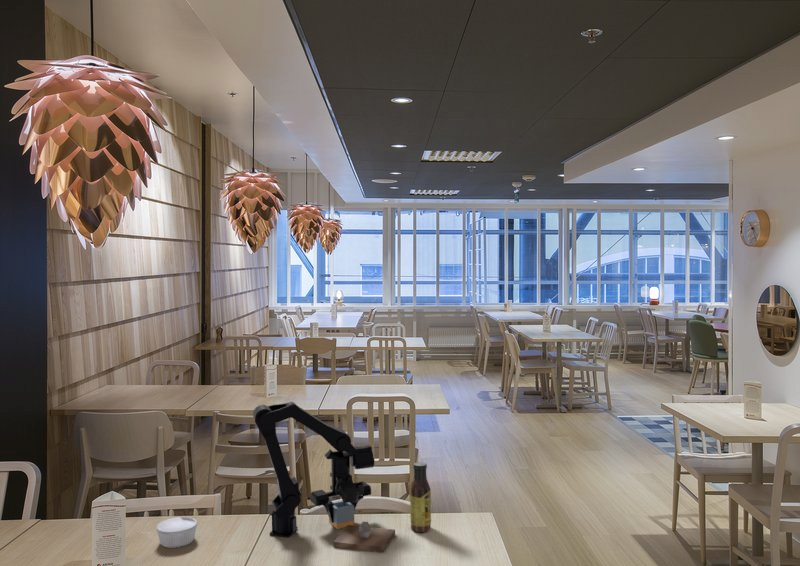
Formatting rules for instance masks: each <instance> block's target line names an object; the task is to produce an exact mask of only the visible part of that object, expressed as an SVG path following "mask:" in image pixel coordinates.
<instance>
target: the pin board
mask: <svg viewBox="0 0 800 566" xmlns="http://www.w3.org/2000/svg"><path fill="white" fill-rule="evenodd" d="M395 536H396V529H392V528H391V529H390V528H381V527H373V526H372V527H371V523H369V522H368V521H362V522H361V523H360V525H347V526H346V527H344V528H343V530H342V531H341V532H340V534H339V535H337V537H336V539H334V541H333V548H339V549H348V550H356V549H357V550H356V551H365V550H367V552H374V551H376V552H378V553H385V552H386V550H387V548H388V547H389V545H390V544H391V543H392V540H393V538H394V537H395Z"/></svg>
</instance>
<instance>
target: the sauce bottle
mask: <svg viewBox="0 0 800 566" xmlns="http://www.w3.org/2000/svg"><path fill="white" fill-rule="evenodd" d="M427 469H428V465H427V463H426V462H424V461H423V462H422V461H420V462H419V461H417V462H415V463H413V480H412V481H411V484H410V494H409V495H410V497H409V499H410V500H409V501H410V502H409V503H410V506H409V507H410V509H409V511H410V529H411V530H412V531H414V532H418V533H423V532H429V530H430V529H431V525H432V508H431V507H432V506H431V505H432V497H431V494H432V493H431V492H432V491H431V487H430V484H429V481H428V478H427V476H428V475H427Z"/></svg>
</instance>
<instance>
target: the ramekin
mask: <svg viewBox="0 0 800 566" xmlns="http://www.w3.org/2000/svg"><path fill="white" fill-rule="evenodd" d="M197 526H198V521H197V519H195V518H193V517H189V516H178V517H177V516H176V517H171V518H168V519H165V520H163V521H161V522H159V523H158V524H157V525H156V532H157V536H158V539H159V544H160V545H161V546H162V547H164V548H168V549H176V547H177V548H181V546H182V547H185V546H188V545H190V544H191V543H192V542H193V541H194V539H195V536H196V531H197V530H196V529H197Z"/></svg>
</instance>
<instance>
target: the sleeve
mask: <svg viewBox="0 0 800 566" xmlns="http://www.w3.org/2000/svg"><path fill="white" fill-rule="evenodd" d="M332 503H334V506H333V516H334V522H333V523H332V522H331V521H330V518H329V517H328V523H329V524H330V525H332V526H333V527H334V528H335V529H336V530H338V529H342V528H343V529H344V528H346V526H347V525H353V526H355V511H354V505H353V504H351V503H350V502H348V503H345V502H343V500H342V499H341V500H338V501H332Z"/></svg>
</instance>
